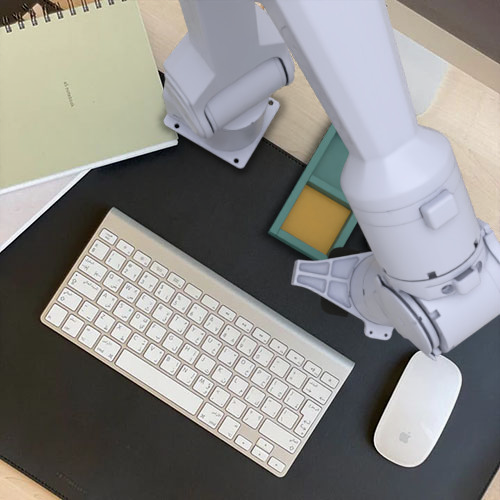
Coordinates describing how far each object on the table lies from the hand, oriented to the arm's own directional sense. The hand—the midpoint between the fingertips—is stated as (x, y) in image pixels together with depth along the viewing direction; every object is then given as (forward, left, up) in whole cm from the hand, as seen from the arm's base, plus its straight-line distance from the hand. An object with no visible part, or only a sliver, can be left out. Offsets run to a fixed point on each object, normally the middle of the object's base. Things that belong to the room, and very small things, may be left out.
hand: (360, 288), depth 60 cm
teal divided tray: (-6, +7, -6) cm, 12 cm away
